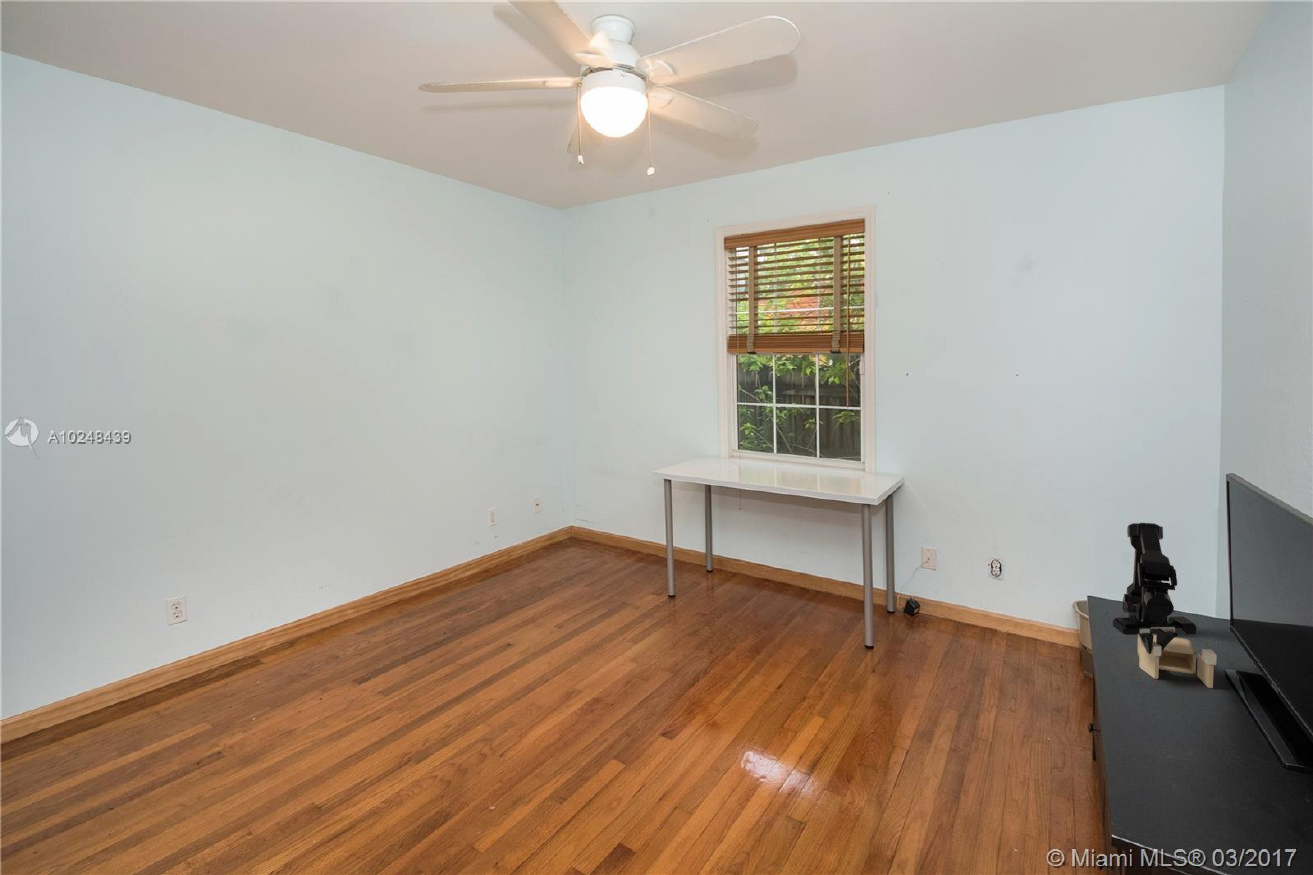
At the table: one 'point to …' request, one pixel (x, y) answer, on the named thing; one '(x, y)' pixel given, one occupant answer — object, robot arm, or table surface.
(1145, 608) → the robot arm
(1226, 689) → the table surface
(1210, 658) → the flap open
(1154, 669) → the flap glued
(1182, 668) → the carton
